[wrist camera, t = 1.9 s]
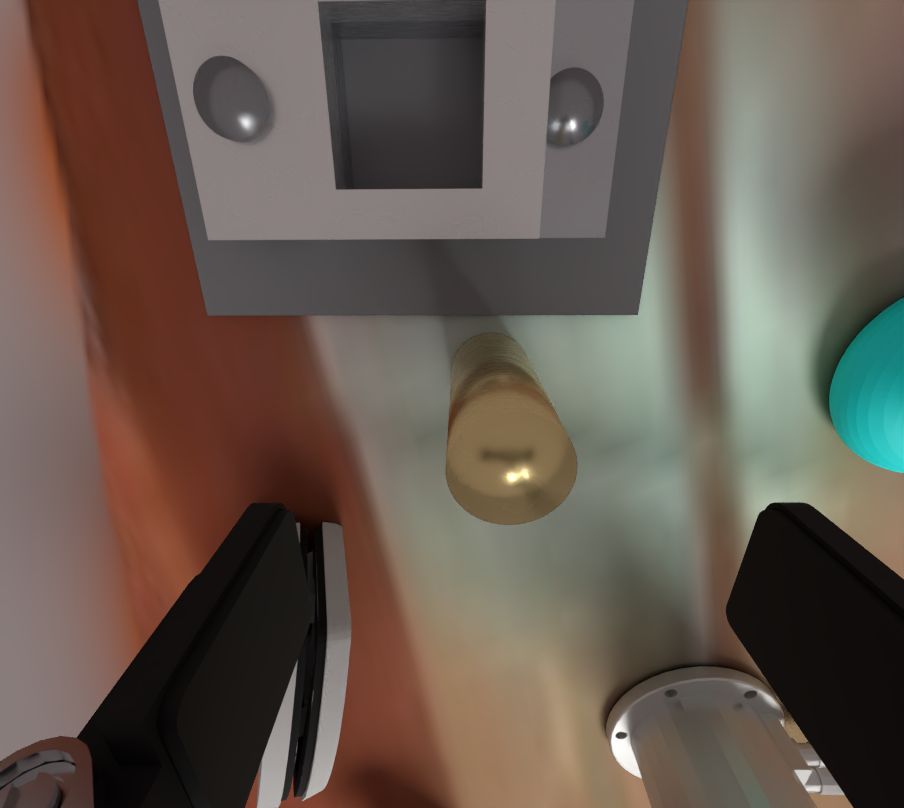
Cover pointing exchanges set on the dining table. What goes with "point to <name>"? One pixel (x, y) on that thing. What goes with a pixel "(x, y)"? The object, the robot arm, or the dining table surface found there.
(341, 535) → the white slotted device
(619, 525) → the dining table surface
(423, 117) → the mat
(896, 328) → the donuts
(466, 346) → the brass pin
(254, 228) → the grey block with hole
